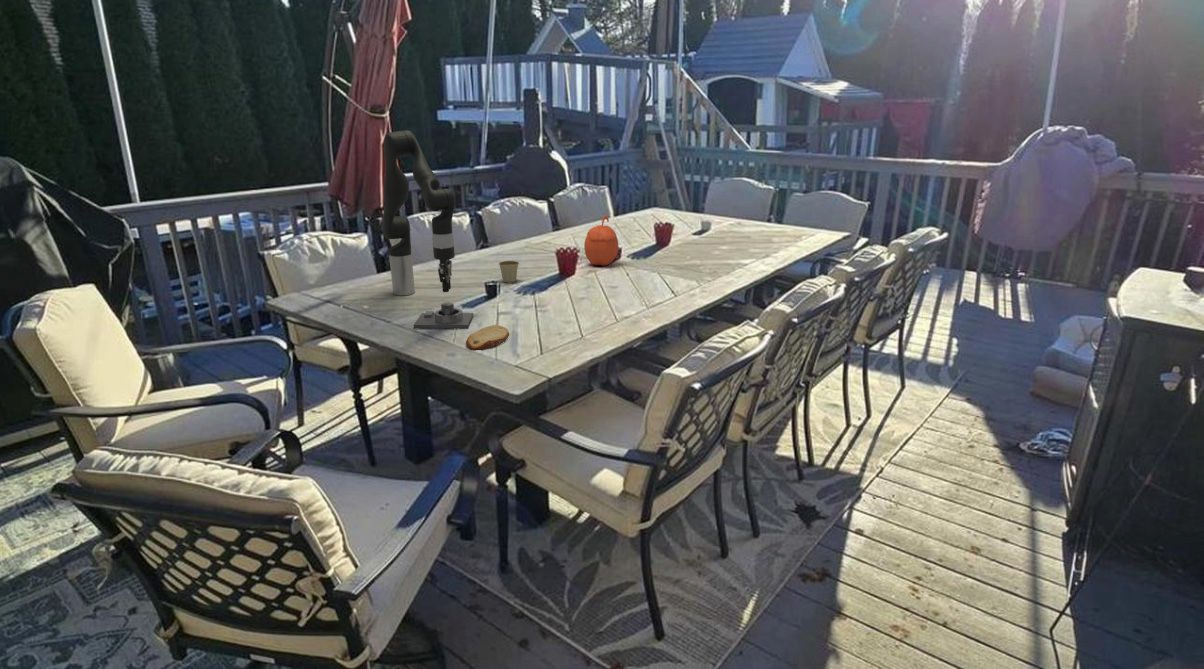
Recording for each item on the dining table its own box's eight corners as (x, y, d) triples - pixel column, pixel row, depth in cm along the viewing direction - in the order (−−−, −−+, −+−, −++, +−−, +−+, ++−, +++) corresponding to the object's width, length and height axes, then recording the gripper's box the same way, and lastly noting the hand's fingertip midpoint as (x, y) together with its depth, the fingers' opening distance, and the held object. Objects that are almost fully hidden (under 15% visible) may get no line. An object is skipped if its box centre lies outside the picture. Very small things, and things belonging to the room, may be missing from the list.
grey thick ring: (438, 315, 252) (437, 307, 251) (464, 315, 252) (463, 307, 251) (433, 324, 243) (432, 315, 241) (460, 324, 243) (459, 315, 242)
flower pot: (495, 280, 304) (494, 262, 301) (512, 277, 310) (511, 259, 307) (506, 285, 298) (505, 266, 295) (523, 281, 303) (523, 263, 300)
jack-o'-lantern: (606, 258, 346) (607, 211, 337) (625, 265, 333) (626, 217, 324) (577, 263, 336) (577, 215, 327) (596, 270, 323) (596, 220, 314)
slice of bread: (503, 329, 244) (502, 319, 243) (520, 344, 229) (520, 334, 228) (456, 336, 236) (455, 326, 235) (470, 353, 221) (470, 342, 220)
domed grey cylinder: (442, 317, 250) (441, 301, 248) (454, 317, 250) (454, 301, 248) (441, 322, 244) (440, 306, 242) (453, 322, 245) (453, 306, 243)
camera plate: (422, 316, 255) (421, 310, 254) (473, 316, 256) (473, 310, 255) (413, 328, 242) (413, 321, 241) (467, 328, 243) (467, 321, 242)
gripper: (437, 240, 244) (440, 285, 250) (428, 249, 231) (432, 296, 237) (457, 241, 244) (460, 285, 250) (450, 249, 231) (453, 296, 237)
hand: (446, 290), depth 243 cm, fingers open, 3 cm apart
